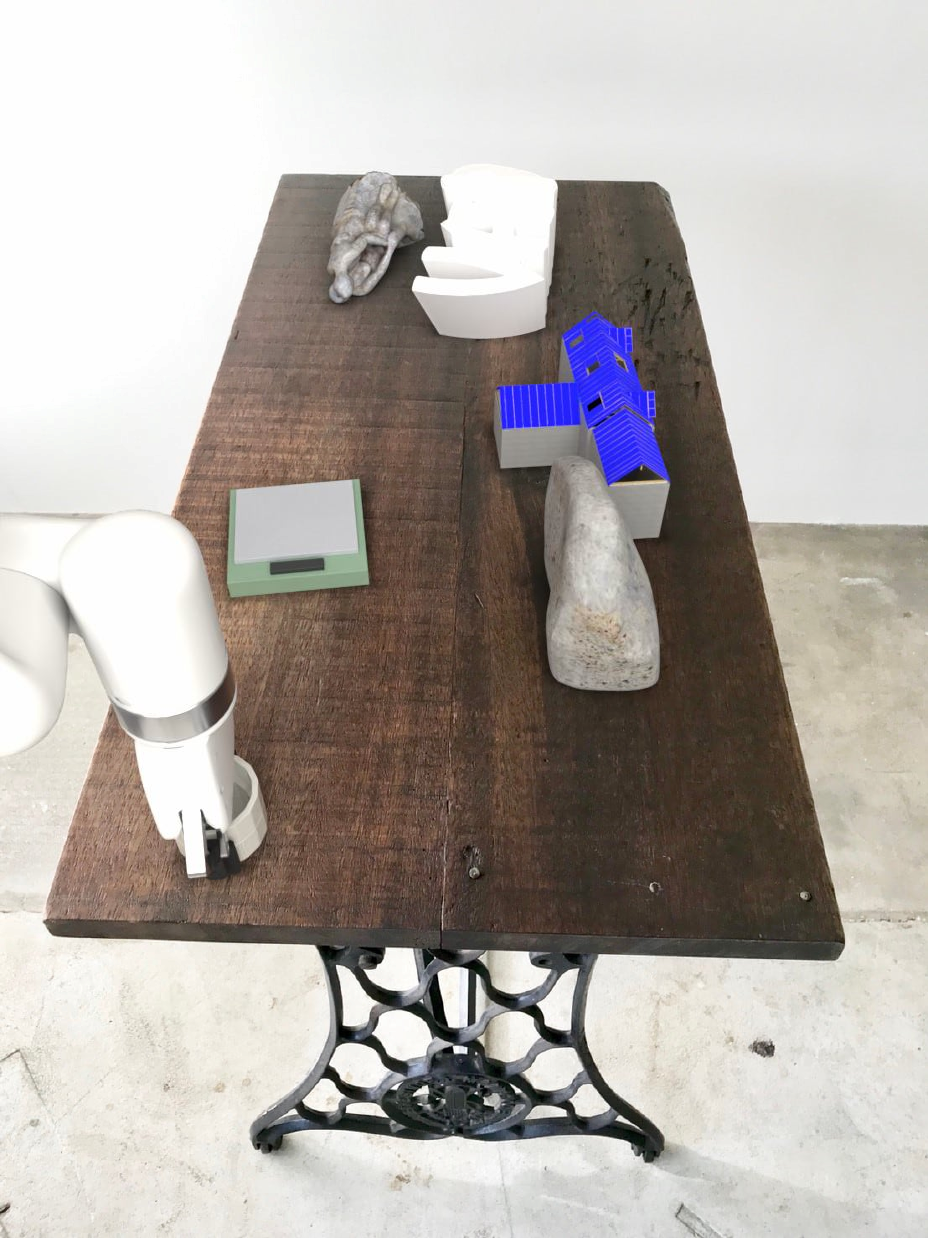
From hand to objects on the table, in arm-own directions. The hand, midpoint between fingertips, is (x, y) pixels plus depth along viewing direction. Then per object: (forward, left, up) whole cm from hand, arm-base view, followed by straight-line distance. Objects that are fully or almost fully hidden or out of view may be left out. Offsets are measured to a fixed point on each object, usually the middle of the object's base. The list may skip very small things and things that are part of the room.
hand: (221, 824), depth 74 cm
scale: (+6, +31, -1) cm, 32 cm away
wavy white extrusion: (+32, +76, -1) cm, 83 cm away
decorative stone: (+32, +17, -1) cm, 37 cm away
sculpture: (+16, +80, -1) cm, 82 cm away
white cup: (0, 0, -1) cm, 1 cm away
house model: (+35, +40, -1) cm, 53 cm away
